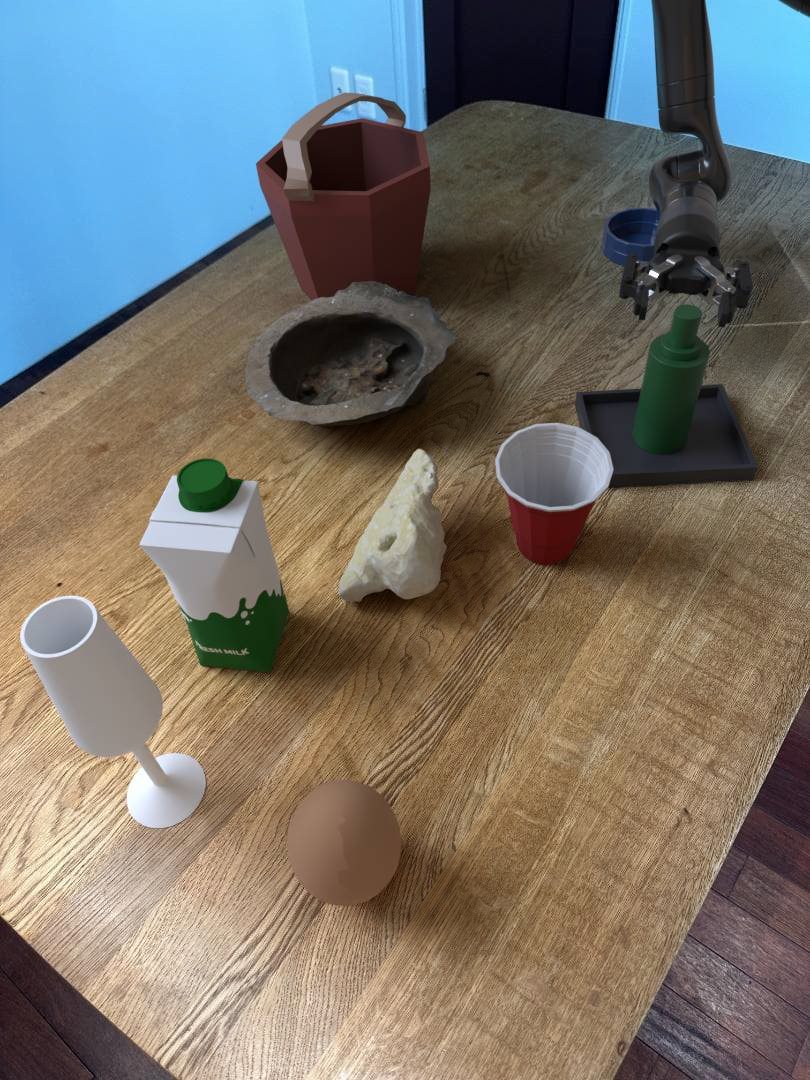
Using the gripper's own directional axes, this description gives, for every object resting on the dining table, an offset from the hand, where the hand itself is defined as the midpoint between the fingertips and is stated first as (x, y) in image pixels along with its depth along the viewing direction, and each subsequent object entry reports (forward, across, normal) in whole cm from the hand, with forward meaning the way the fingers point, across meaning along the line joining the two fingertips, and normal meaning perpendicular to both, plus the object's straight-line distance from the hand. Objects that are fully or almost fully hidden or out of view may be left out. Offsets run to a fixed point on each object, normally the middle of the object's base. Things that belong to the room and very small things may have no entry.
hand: (683, 316), depth 89 cm
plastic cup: (+26, -11, +12) cm, 30 cm away
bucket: (-19, -44, +12) cm, 50 cm away
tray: (+8, 0, +12) cm, 14 cm away
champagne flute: (+59, -38, +12) cm, 71 cm away
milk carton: (+43, -37, +12) cm, 58 cm away
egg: (+62, -21, +12) cm, 66 cm away
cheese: (+30, -25, +12) cm, 41 cm away
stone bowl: (+6, -38, +12) cm, 40 cm away
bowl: (-34, -5, +12) cm, 36 cm away
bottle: (+8, 0, +11) cm, 13 cm away
